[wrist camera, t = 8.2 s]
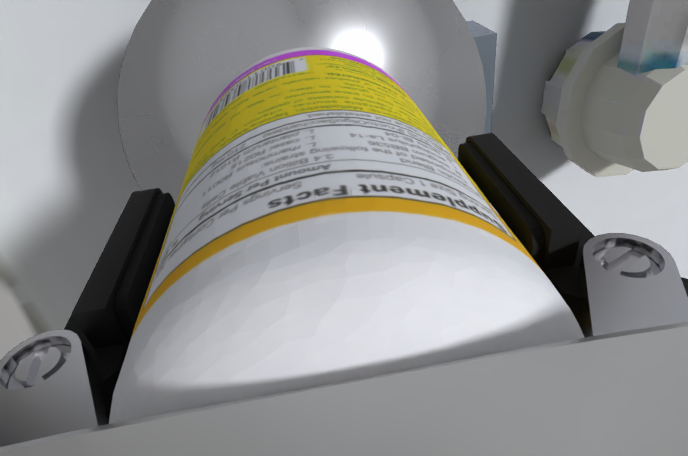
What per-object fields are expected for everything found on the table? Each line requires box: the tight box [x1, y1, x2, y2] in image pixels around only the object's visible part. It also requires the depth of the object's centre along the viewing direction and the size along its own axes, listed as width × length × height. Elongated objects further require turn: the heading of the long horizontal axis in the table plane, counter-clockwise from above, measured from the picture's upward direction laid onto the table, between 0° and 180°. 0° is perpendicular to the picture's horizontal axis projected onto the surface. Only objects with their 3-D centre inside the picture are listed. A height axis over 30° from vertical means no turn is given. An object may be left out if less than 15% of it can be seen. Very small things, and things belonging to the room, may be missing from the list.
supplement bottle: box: [109, 47, 585, 424], centre depth 9 cm, size 7×7×13 cm
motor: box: [117, 0, 497, 205], centre depth 18 cm, size 12×13×6 cm
